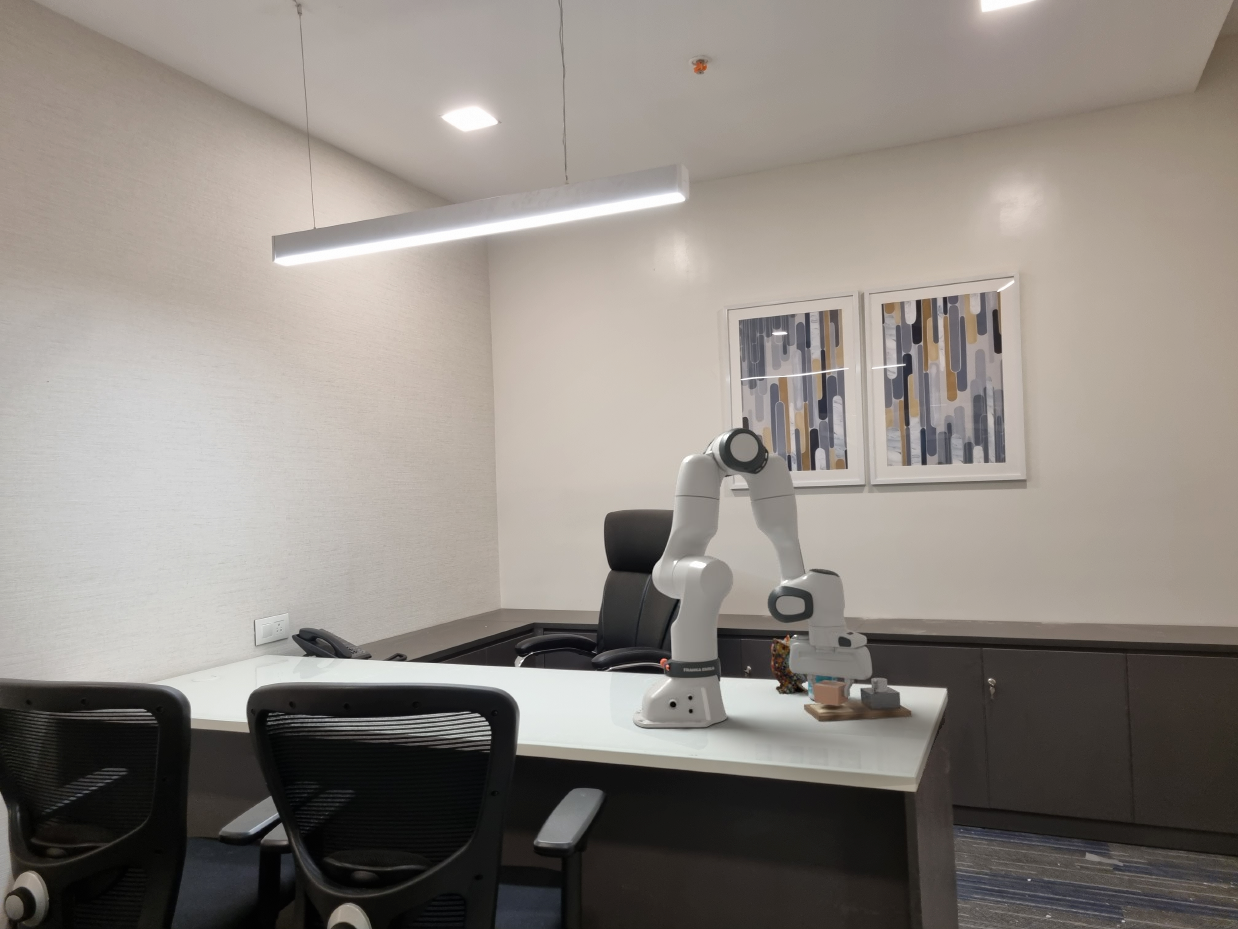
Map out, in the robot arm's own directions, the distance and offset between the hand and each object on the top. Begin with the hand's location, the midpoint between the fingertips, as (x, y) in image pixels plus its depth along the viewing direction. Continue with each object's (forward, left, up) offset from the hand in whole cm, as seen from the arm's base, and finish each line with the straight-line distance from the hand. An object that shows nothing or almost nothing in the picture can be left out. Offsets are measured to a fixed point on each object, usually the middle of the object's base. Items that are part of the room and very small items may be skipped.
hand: (831, 695), depth 200 cm
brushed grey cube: (+12, 0, -3) cm, 12 cm away
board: (+6, 0, -4) cm, 7 cm away
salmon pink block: (0, 0, -2) cm, 2 cm away
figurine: (-3, +27, -5) cm, 27 cm away
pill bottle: (+3, +16, -5) cm, 17 cm away
